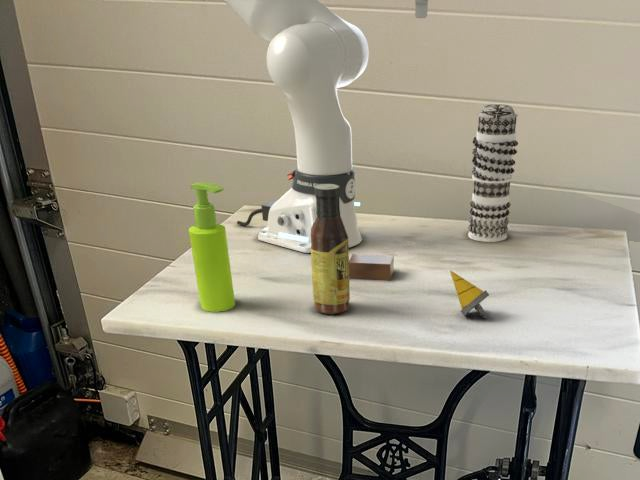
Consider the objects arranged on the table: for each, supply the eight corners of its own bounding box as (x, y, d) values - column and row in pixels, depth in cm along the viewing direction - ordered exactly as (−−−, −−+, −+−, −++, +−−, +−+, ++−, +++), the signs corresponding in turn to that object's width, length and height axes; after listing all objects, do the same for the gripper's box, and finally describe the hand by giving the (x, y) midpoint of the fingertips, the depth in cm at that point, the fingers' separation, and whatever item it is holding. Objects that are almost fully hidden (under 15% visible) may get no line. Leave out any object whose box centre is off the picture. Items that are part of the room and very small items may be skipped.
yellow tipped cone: (474, 328, 121) (437, 279, 120) (473, 329, 126) (438, 282, 125) (500, 307, 120) (463, 258, 118) (498, 309, 125) (462, 262, 124)
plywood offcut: (348, 278, 138) (348, 262, 136) (352, 269, 142) (352, 253, 140) (390, 280, 137) (390, 264, 135) (393, 271, 141) (393, 255, 139)
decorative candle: (482, 245, 154) (493, 111, 139) (458, 233, 160) (465, 104, 145) (517, 238, 157) (531, 107, 142) (491, 227, 164) (502, 101, 149)
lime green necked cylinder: (223, 315, 124) (206, 190, 112) (193, 307, 127) (173, 184, 115) (246, 304, 128) (231, 182, 116) (216, 296, 131) (199, 177, 119)
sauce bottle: (345, 317, 123) (340, 193, 111) (309, 314, 124) (301, 190, 112) (354, 303, 128) (351, 182, 116) (319, 300, 129) (313, 180, 117)
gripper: (404, -98, 112) (402, 11, 121) (401, -106, 96) (398, 20, 105) (445, -97, 112) (440, 11, 121) (448, -106, 96) (442, 20, 104)
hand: (421, 15), depth 112 cm, fingers open, 8 cm apart
